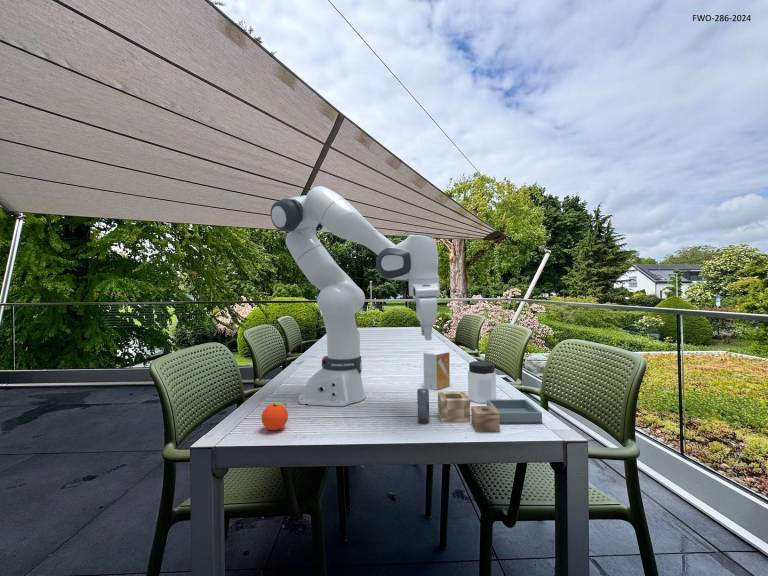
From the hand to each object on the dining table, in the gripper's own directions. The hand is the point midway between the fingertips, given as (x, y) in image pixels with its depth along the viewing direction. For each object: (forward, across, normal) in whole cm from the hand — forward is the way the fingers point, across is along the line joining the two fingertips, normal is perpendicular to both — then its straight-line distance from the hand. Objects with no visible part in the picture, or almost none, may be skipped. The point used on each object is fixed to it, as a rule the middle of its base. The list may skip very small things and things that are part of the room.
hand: (426, 337), depth 108 cm
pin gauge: (+23, +4, -2) cm, 23 cm away
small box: (+23, -32, +6) cm, 40 cm away
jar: (+24, -16, +19) cm, 34 cm away
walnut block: (+24, +8, +14) cm, 29 cm away
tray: (+24, 0, +24) cm, 34 cm away
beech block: (+23, 0, +7) cm, 24 cm away
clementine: (+22, +7, -42) cm, 48 cm away
